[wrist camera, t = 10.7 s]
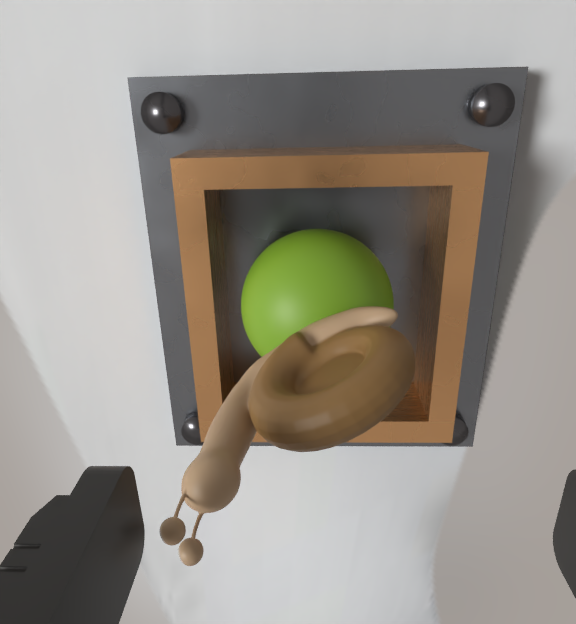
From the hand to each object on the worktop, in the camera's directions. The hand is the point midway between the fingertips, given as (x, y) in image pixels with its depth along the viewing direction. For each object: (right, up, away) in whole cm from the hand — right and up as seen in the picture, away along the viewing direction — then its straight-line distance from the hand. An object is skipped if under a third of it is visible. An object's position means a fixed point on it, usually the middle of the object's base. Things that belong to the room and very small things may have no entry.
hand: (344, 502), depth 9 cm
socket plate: (0, +5, +12) cm, 13 cm away
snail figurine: (0, +5, +11) cm, 12 cm away
